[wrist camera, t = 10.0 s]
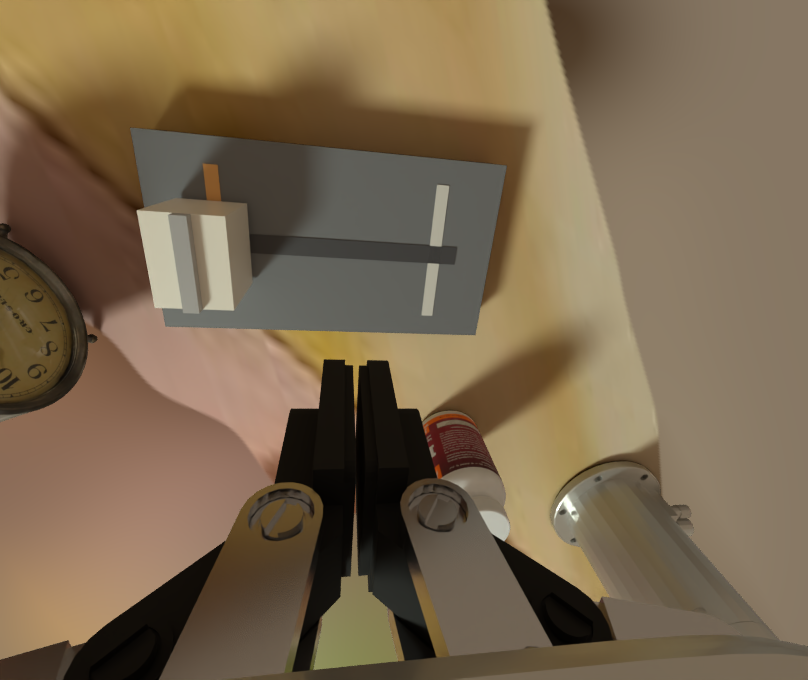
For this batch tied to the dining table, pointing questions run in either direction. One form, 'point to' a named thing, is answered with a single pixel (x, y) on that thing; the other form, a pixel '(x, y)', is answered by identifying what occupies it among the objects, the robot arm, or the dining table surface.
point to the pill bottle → (468, 465)
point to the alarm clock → (36, 333)
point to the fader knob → (197, 253)
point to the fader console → (338, 231)
